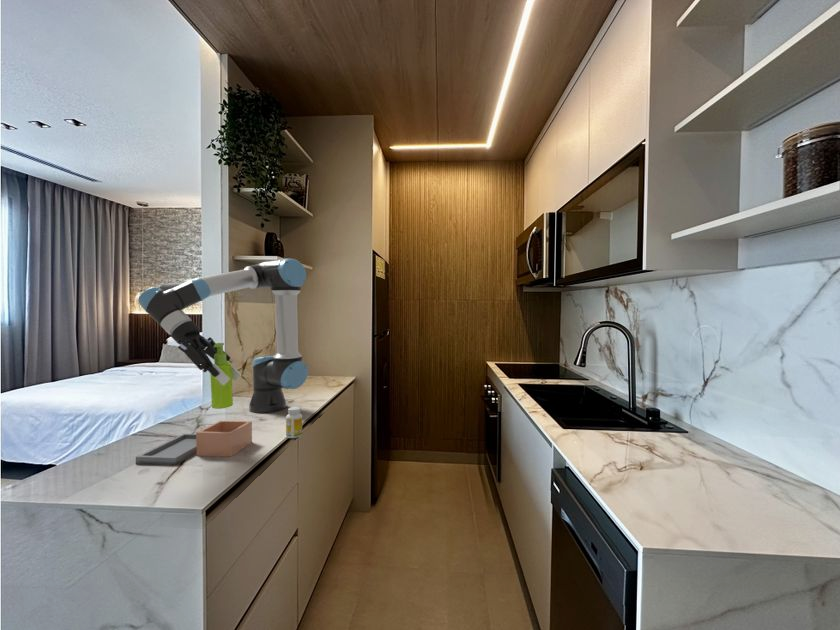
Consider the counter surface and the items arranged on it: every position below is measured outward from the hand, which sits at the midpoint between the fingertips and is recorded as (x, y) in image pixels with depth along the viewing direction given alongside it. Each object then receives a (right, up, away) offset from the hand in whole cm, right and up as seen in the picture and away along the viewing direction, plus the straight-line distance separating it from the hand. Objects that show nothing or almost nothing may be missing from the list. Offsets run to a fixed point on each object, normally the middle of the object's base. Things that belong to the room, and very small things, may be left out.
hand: (232, 380), depth 120 cm
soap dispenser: (-4, -8, +1) cm, 9 cm away
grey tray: (-16, -22, 0) cm, 27 cm away
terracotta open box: (-3, -22, +2) cm, 22 cm away
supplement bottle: (+15, -22, +13) cm, 30 cm away
